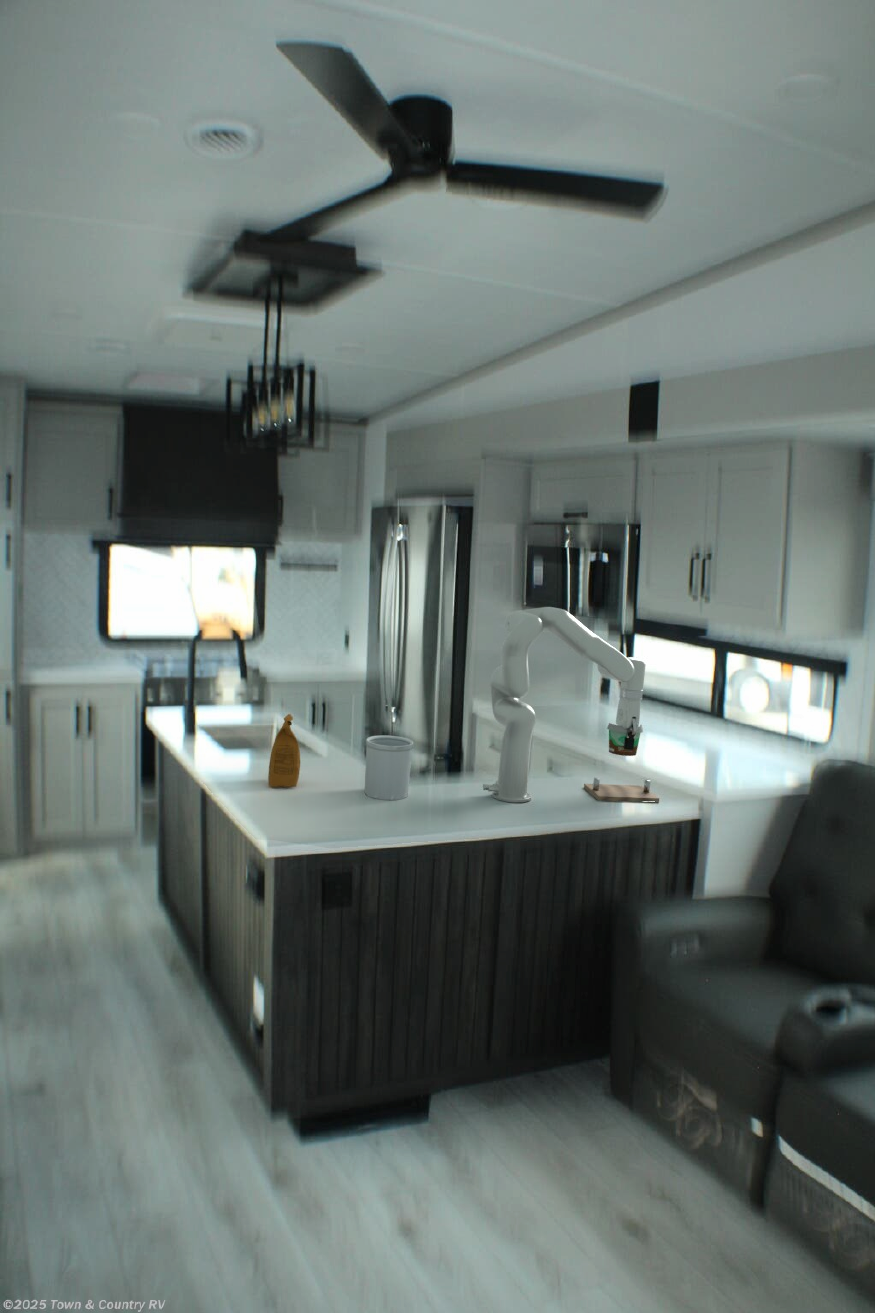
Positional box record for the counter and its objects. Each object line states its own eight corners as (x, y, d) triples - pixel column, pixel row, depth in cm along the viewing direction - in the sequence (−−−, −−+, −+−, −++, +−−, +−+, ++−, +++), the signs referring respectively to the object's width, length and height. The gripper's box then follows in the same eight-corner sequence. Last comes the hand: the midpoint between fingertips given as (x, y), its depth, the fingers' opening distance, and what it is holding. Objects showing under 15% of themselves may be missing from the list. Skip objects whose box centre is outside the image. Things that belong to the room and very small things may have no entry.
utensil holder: (403, 803, 306) (407, 747, 304) (356, 797, 309) (360, 742, 307) (414, 792, 321) (418, 738, 319) (369, 786, 324) (373, 733, 321)
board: (598, 800, 328) (600, 784, 327) (583, 787, 343) (585, 772, 343) (658, 802, 331) (660, 786, 330) (641, 790, 347) (643, 774, 346)
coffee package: (301, 780, 324) (305, 714, 321) (297, 790, 312) (301, 721, 309) (270, 778, 323) (274, 712, 321) (265, 788, 311) (269, 719, 308)
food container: (610, 755, 331) (613, 726, 330) (604, 751, 337) (607, 722, 336) (645, 757, 333) (648, 728, 332) (639, 753, 339) (642, 724, 338)
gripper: (611, 689, 341) (606, 741, 343) (629, 698, 324) (623, 753, 326) (632, 690, 342) (627, 742, 344) (651, 699, 325) (645, 753, 327)
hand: (625, 747), depth 335 cm, fingers closed on food container, 5 cm apart
